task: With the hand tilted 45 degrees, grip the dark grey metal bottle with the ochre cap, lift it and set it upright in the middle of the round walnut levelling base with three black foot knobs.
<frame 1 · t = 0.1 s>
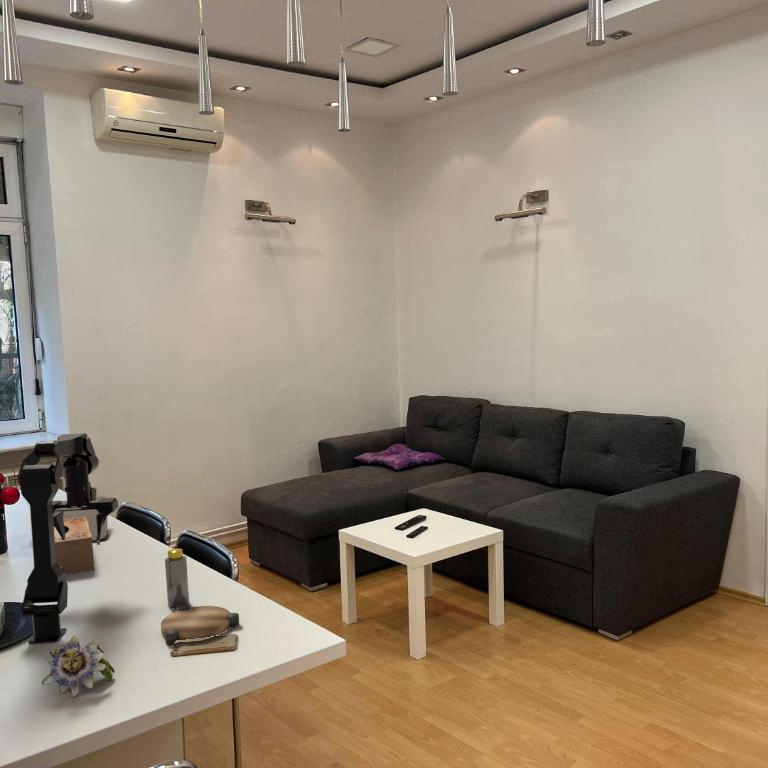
hand: (81, 538, 205), 15 cm above the table, tool pointing down, fingers open, 9 cm apart
portable electronic device stand: (72, 539, 257), on the table
base plate: (196, 627, 181), on the table
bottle: (178, 604, 196), on the table
tissue box cover: (66, 562, 234), on the table
passion flower: (80, 687, 155), on the table
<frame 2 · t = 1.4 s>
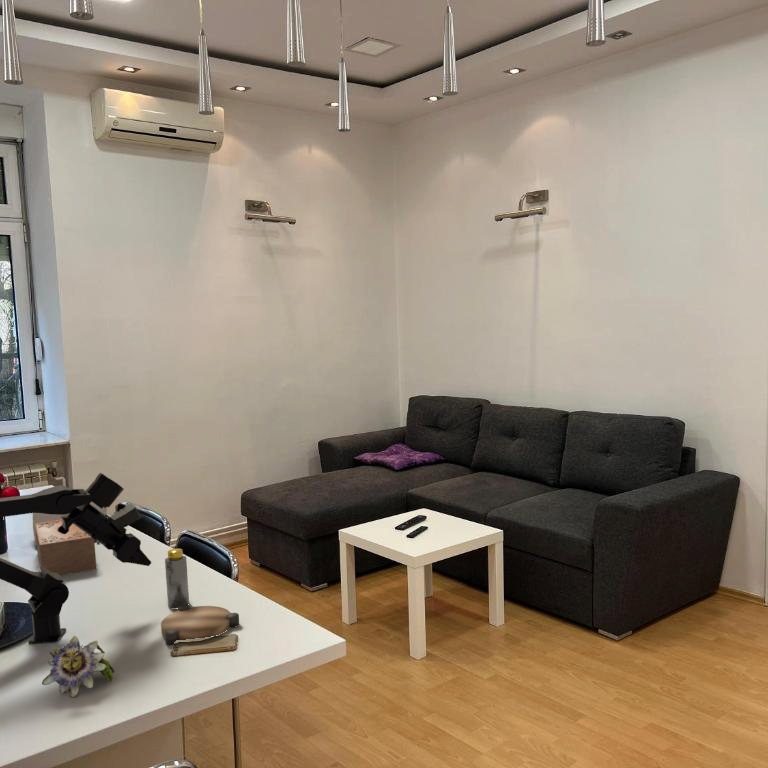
hand: (144, 559, 190), 13 cm above the table, tool tilted 45°, fingers open, 9 cm apart
nothing on the table moved.
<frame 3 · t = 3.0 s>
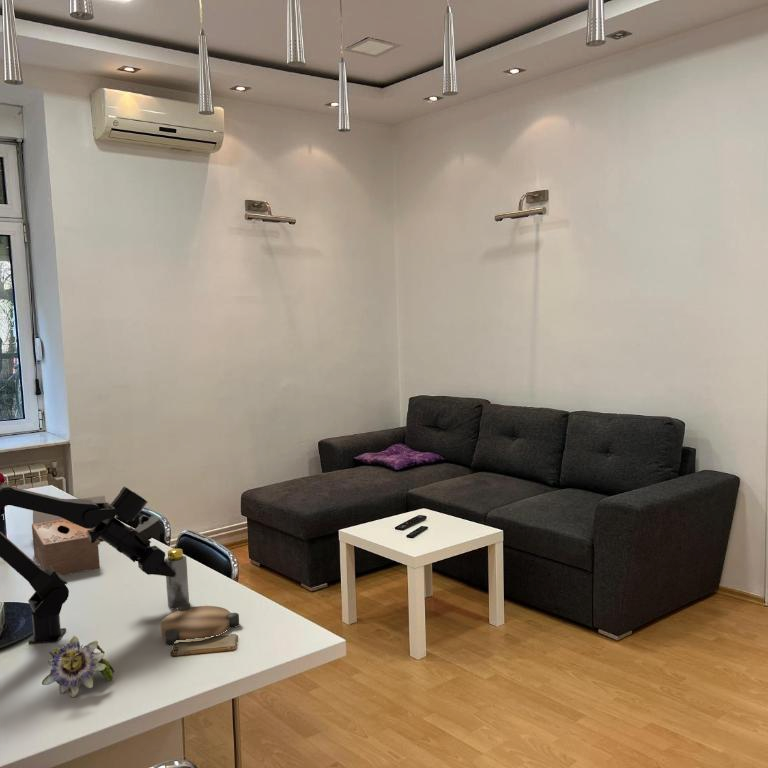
hand: (168, 570, 194), 9 cm above the table, tool tilted 45°, fingers open, 9 cm apart
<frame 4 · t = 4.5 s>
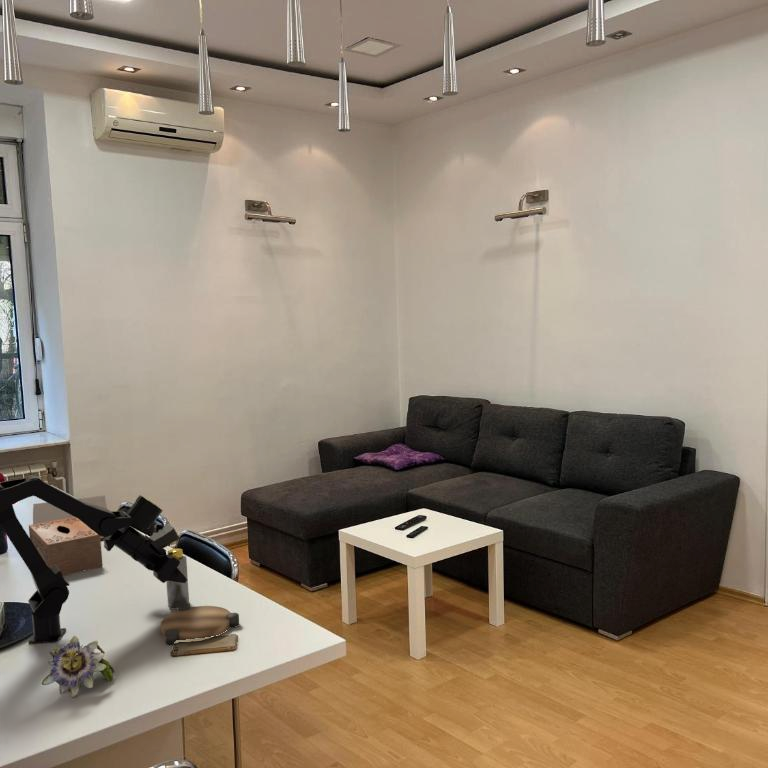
hand: (182, 578, 196), 7 cm above the table, tool tilted 45°, fingers closed on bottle, 5 cm apart
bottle: (178, 604, 196), on the table, touching gripper
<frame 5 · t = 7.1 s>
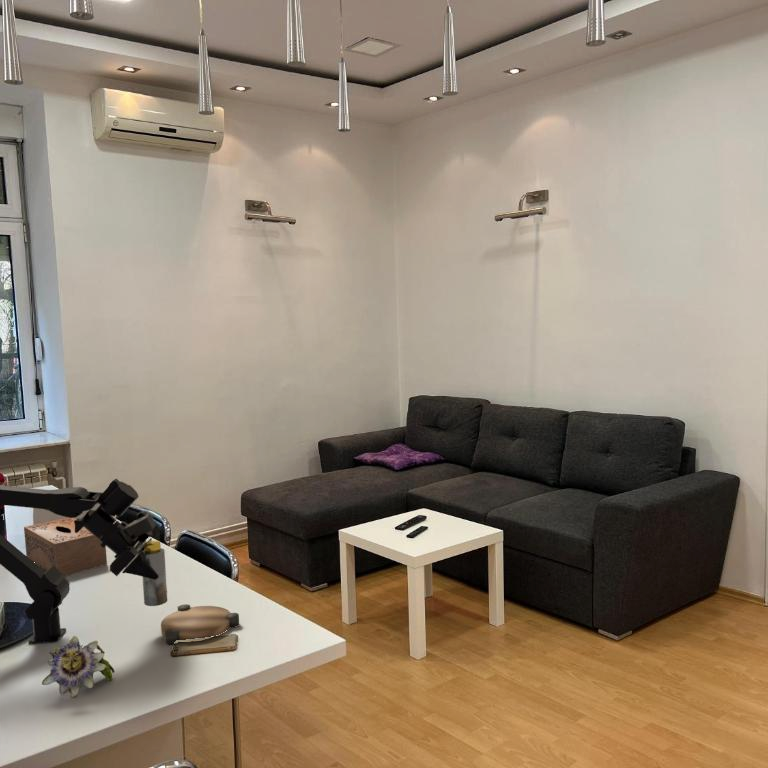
hand: (160, 573, 180), 13 cm above the table, tool tilted 45°, fingers closed on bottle, 5 cm apart
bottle: (155, 601, 180), point 7 cm above the table, touching gripper
when the fingers open (10 cm above the table, at t = 9.8 s): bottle drops 1 cm, resting on base plate.
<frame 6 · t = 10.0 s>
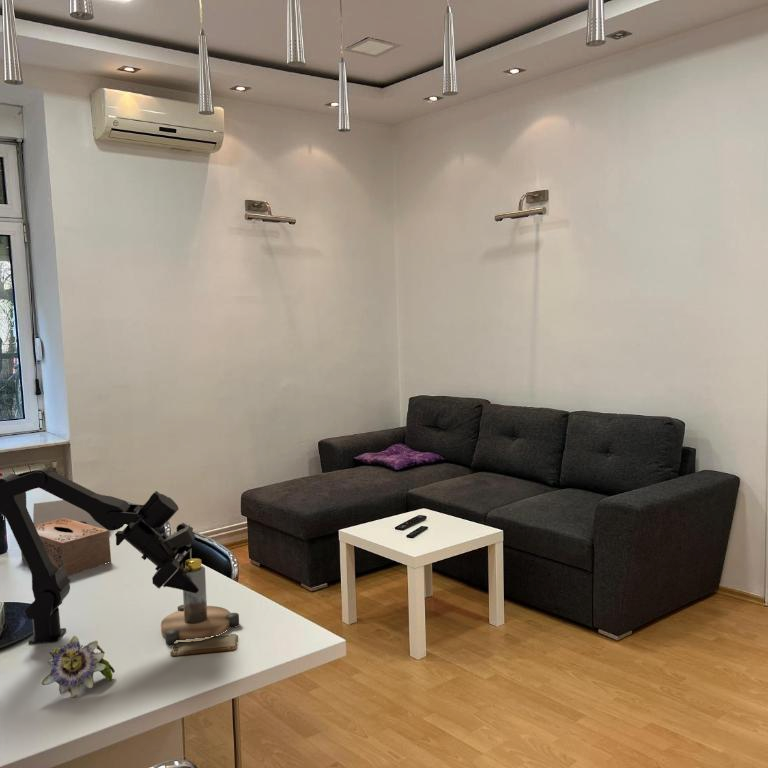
hand: (200, 585, 180), 10 cm above the table, tool tilted 45°, fingers open, 7 cm apart
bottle: (195, 619, 181), point 2 cm above the table, touching base plate
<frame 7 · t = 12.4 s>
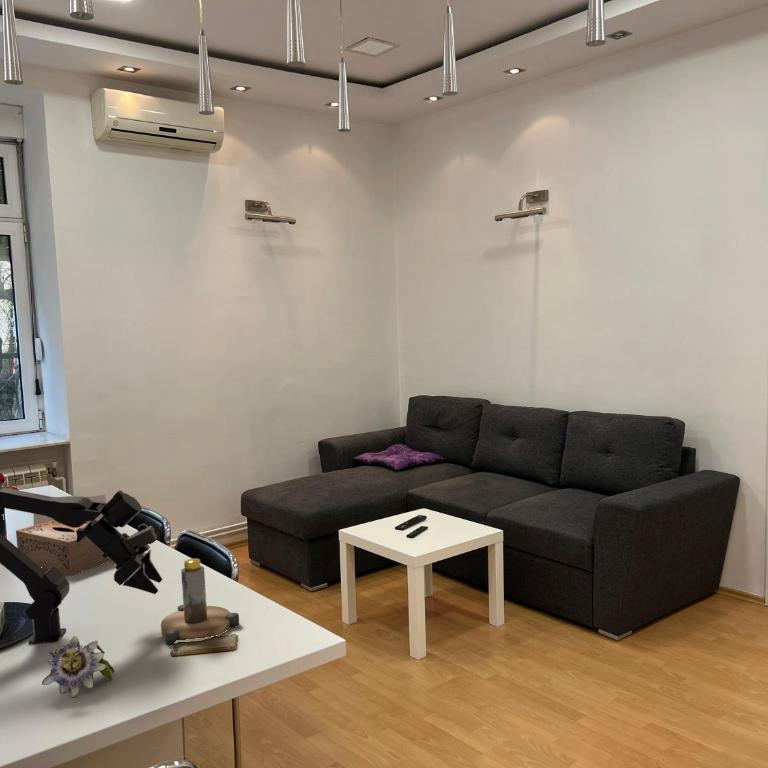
hand: (159, 586, 180), 10 cm above the table, tool tilted 40°, fingers open, 9 cm apart
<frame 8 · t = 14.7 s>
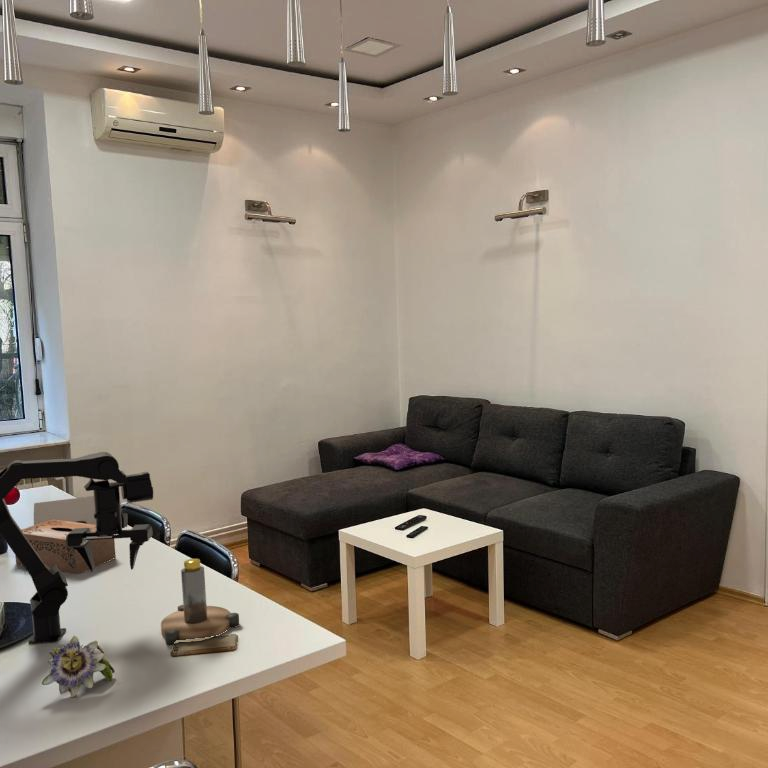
hand: (112, 570, 184), 13 cm above the table, tool pointing down, fingers open, 9 cm apart
at the end: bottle 0.1 cm off-centre on the base plate, point 2.0 cm above the base plate's base; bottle tilted 0°; the gripper is holding nothing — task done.
